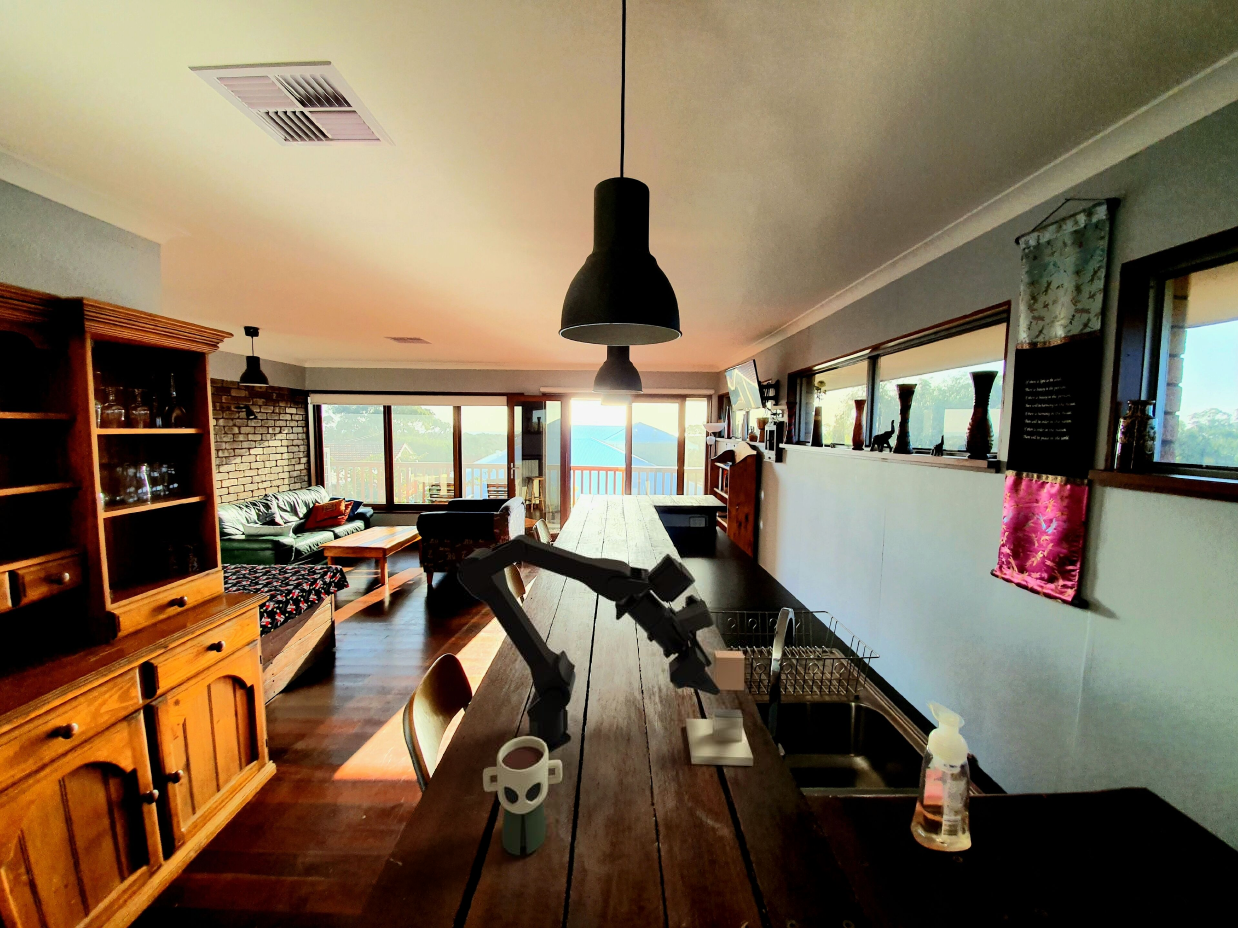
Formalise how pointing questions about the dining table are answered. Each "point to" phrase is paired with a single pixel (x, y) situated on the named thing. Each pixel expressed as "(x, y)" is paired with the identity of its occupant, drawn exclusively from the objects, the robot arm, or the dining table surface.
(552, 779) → the character mug
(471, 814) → the dining table surface
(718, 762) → the cream square base plate
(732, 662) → the peach rectangular post
